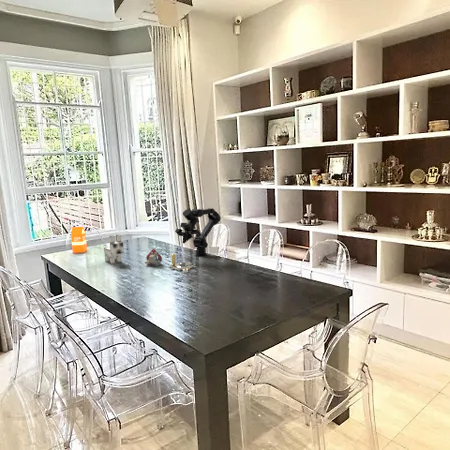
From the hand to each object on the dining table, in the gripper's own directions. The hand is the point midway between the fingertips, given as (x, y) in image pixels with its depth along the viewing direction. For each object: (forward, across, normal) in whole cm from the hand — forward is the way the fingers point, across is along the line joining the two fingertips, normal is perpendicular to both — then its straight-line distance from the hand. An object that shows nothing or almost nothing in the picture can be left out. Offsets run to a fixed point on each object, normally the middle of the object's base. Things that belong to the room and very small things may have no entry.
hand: (183, 243), depth 267 cm
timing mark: (+23, +15, -4) cm, 27 cm away
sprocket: (+17, +6, +2) cm, 18 cm away
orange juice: (+14, -100, 0) cm, 101 cm away
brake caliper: (+19, -16, -1) cm, 25 cm away
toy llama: (+24, -47, -7) cm, 53 cm away
